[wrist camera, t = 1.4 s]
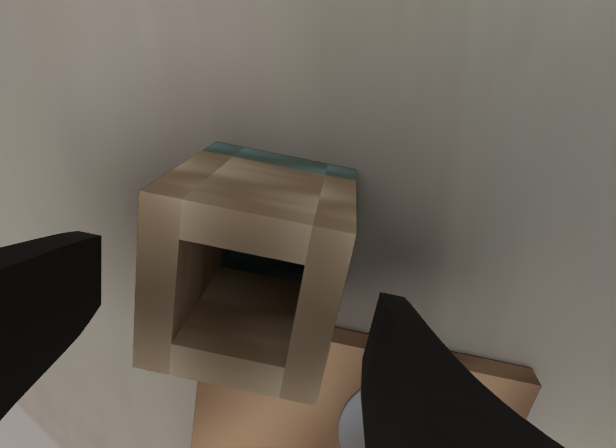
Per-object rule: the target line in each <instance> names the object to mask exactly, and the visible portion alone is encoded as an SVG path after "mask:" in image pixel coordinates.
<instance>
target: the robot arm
mask: <svg viewBox="0 0 616 448" xmlns="http://www.w3.org/2000/svg"><path fill="white" fill-rule="evenodd" d="M100 305H101V236H100V235H95V234H90V233H85V232H80V231H75V232H67V233H61V234H56V235H52V236H47V237H43V238H38V239H34V240H30V241H26V242H22V243H18V244H13V245H9V246H5V247H1V248H0V420H1V419H2V418H3V417H4V415H6V413H7V412H8V411H9V410H10V409H11V408H12V407H13V405H14V404H15V403H16V402H17V401H18V400H19V399H20V398H21V397H22V396H23V395H24V394H25V393H26V392H27V391H28V390H29V389H30V388H31V386H32V385H33V384H34V383H35V382H36V381H37V380H38V379H39V378H40V377H41V376H42V375H43V374H44V373H45V372H46V371H47V370H48V369H49V368H50V366H51V365H52V364H53V363H54V362H55V361H56V360H57V359H58V358H59V357H60V356H61V355H62V354H63V353H64V352H65V351H66V349H67V348H68V347H69V346H70V345H71V344H72V343H73V342H74V341H75V340H76V339H77V338H78V336H79V335H80V334H81V333H82V331H83V330H84V328H85V327H86V326H87V324H88V323H89V322H90V320H91V319H92V317H93V316H94V314H95V313H96V311H97V310H98V308H99V307H100ZM361 405H362V417H363V429H364V440H365V448H564V447H563V446H562V445H560V444H559V443H557V442H556V441H554V440H553V439H551V438H550V437H548V436H547V435H546V434H544V433H543V432H542V431H540V430H539V429H538V428H536V427H535V426H534V425H532V424H531V423H530V422H528V421H527V420H526V419H524V418H523V417H521V416H520V415H519V414H518V413H516V412H515V411H514V410H513V409H511V408H510V407H509V406H508V405H506V404H505V403H504V402H503V401H502V400H501V399H499V398H498V397H497V396H496V395H495V394H494V393H493V392H491V391H490V390H489V389H488V388H487V387H486V386H485V385H483V384H482V383H481V382H480V381H479V380H478V379H477V378H476V377H475V376H474V375H473V374H472V373H471V372H470V371H469V370H468V369H467V368H466V367H465V366H464V365H463V364H462V363H461V362H460V361H459V360H458V359H457V358H456V357H455V356H454V355H453V354H452V353H451V351H450V350H449V349H448V348H447V347H446V346H445V345H444V344H443V343H442V341H441V340H440V339H439V338H438V337H437V336H436V334H435V333H434V332H433V331H432V330H431V329H430V327H429V326H428V325H427V324H426V322H425V321H424V320H423V319H422V318H421V316H420V315H419V314H418V313H417V311H416V310H415V309H414V308H413V306H412V305H411V304H410V303H409V302H408V301H407V299H406V298H405V297H401V296H396V295H391V294H386V293H381V292H380V295H379V299H378V303H377V306H376V310H375V314H374V317H373V321H372V325H371V328H370V332H369V336H368V339H367V343H366V347H365V350H364V354H363V358H362V373H361Z"/></svg>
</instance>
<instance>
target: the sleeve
mask: <svg viewBox="0 0 616 448" xmlns="http://www.w3.org/2000/svg"><path fill="white" fill-rule="evenodd" d="M356 235H357V222H356V170H355V169H350V168H345V167H340V166H335V165H330V164H325V163H320V162H315V161H310V160H305V159H300V158H295V157H290V156H285V155H280V154H275V153H269V152H264V151H259V150H254V149H249V148H244V147H239V146H234V145H229V144H224V143H219V142H215V143H214V144H212V145H211V146H209V147H207V148H206V149H204V150H203V151H201V152H200V153H198V154H196V155H195V156H193V157H192V158H190V159H188V160H187V161H185V162H184V163H182V164H181V165H179V166H177V167H176V168H174V169H173V170H171V171H169V172H168V173H166V174H165V175H163V176H161V177H160V178H158V179H157V180H155V181H154V182H152V183H150V184H149V185H147V186H146V187H144V188H142V189H141V190H139V203H138V231H137V259H136V287H135V314H134V342H133V367H136V368H140V369H145V370H150V371H154V372H159V373H164V374H169V375H173V376H178V377H183V378H187V379H192V380H197V381H201V382H206V383H211V384H215V385H220V386H225V387H229V388H234V389H239V390H243V391H248V392H253V393H257V394H262V395H267V396H271V397H276V398H281V399H286V400H290V401H295V402H300V403H304V404H309V405H314V406H316V404H317V400H318V396H319V391H320V387H321V383H322V379H323V375H324V370H325V366H326V362H327V358H328V353H329V349H330V345H331V341H332V337H333V332H334V328H335V324H336V320H337V315H338V311H339V307H340V303H341V299H342V294H343V290H344V286H345V282H346V277H347V273H348V269H349V265H350V261H351V256H352V252H353V248H354V244H355V239H356Z"/></svg>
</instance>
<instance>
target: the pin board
mask: <svg viewBox="0 0 616 448" xmlns="http://www.w3.org/2000/svg"><path fill="white" fill-rule="evenodd" d="M368 336H369V334H364V333H359V332H354V331H350V330H345V329H340V328H334V332H333V337H332V341H331V345H330V349H329V353H328V358H327V362H326V366H325V370H324V375H323V379H322V383H321V387H320V391H319V396H318V400H317V404H316V406H314V405H309V404H304V403H300V402H295V401H290V400H286V399H281V398H276V397H271V396H267V395H262V394H257V393H253V392H248V391H243V390H239V389H234V388H229V387H225V386H220V385H215V384H211V383H206V382H201V381H198V384H197V393H196V403H195V412H194V422H193V431H192V441H191V448H365V440H364V429H363V417H362V405H361V373H362V358H363V354H364V350H365V347H366V343H367V339H368ZM451 353H452V354H453V355H454V356H455V357H456V358H457V359H458V360H459V361H460V362H461V363H462V364H463V365H464V366H465V367H466V368H467V369H468V370H469V371H470V372H471V373H472V374H473V375H474V376H475V377H476V378H477V379H478V380H479V381H480V382H481V383H482V384H483V385H485V386H486V387H487V388H488V389H489V390H490V391H491V392H493V393H494V394H495V395H496V396H497V397H498V398H499V399H501V400H502V401H503V402H504V403H505V404H506V405H508V406H509V407H510V408H511V409H513V410H514V411H515V412H516V413H518V414H519V415H520V416H521V417H523V418H524V419H526V418H527V416H528V414H529V411H530V409H531V407H532V405H533V403H534V401H535V399H536V397H537V395H538V392H539V390H540V388H541V384H540V382H539V381H538V379H537V377H536V375H535V373H534V372H533V370H532V368H527V367H522V366H518V365H513V364H508V363H503V362H498V361H494V360H489V359H484V358H479V357H474V356H470V355H465V354H460V353H455V352H451Z"/></svg>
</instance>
